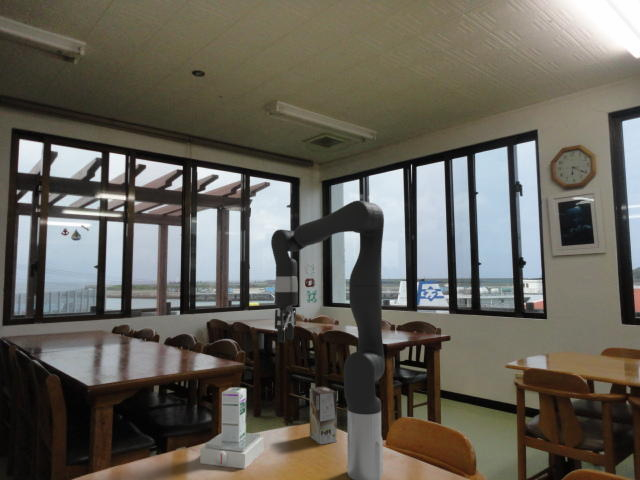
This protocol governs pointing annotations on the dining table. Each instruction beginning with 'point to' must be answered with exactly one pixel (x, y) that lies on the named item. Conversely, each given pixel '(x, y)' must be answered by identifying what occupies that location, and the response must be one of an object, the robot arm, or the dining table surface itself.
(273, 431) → the dining table surface
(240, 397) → the syrup box
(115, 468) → the dining table surface
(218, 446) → the pan
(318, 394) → the coffee box
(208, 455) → the white square slab
